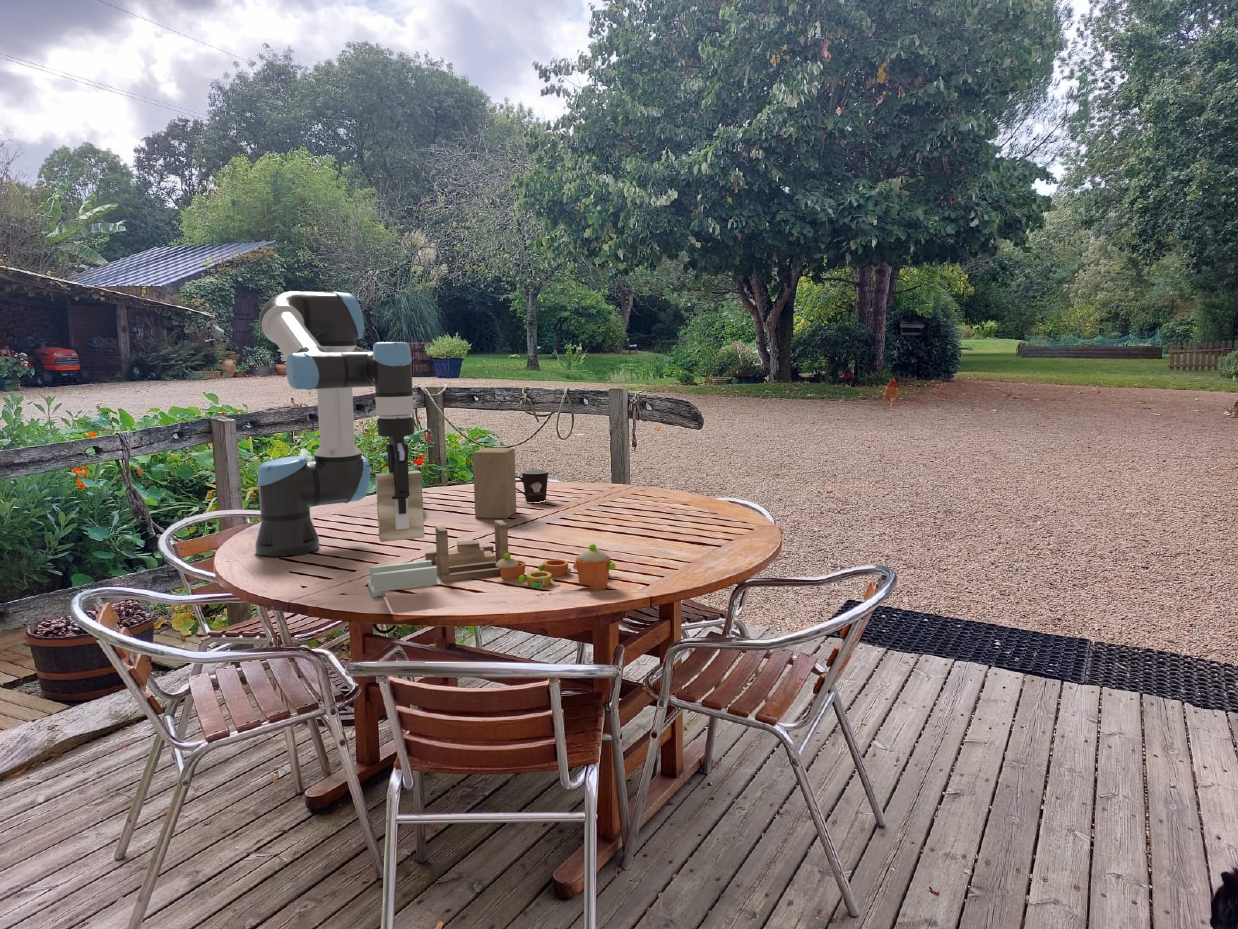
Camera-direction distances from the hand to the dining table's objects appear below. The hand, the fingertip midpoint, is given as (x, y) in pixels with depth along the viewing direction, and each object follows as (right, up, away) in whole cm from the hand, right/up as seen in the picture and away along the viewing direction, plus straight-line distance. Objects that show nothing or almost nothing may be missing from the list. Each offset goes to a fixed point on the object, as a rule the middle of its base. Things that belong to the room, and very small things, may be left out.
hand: (401, 526), depth 177 cm
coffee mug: (+18, +1, +95) cm, 97 cm away
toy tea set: (+33, -13, +4) cm, 36 cm away
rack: (+12, -12, +12) cm, 21 cm away
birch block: (0, -3, 0) cm, 3 cm away
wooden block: (+9, -2, +75) cm, 75 cm away
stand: (0, -13, +2) cm, 13 cm away
